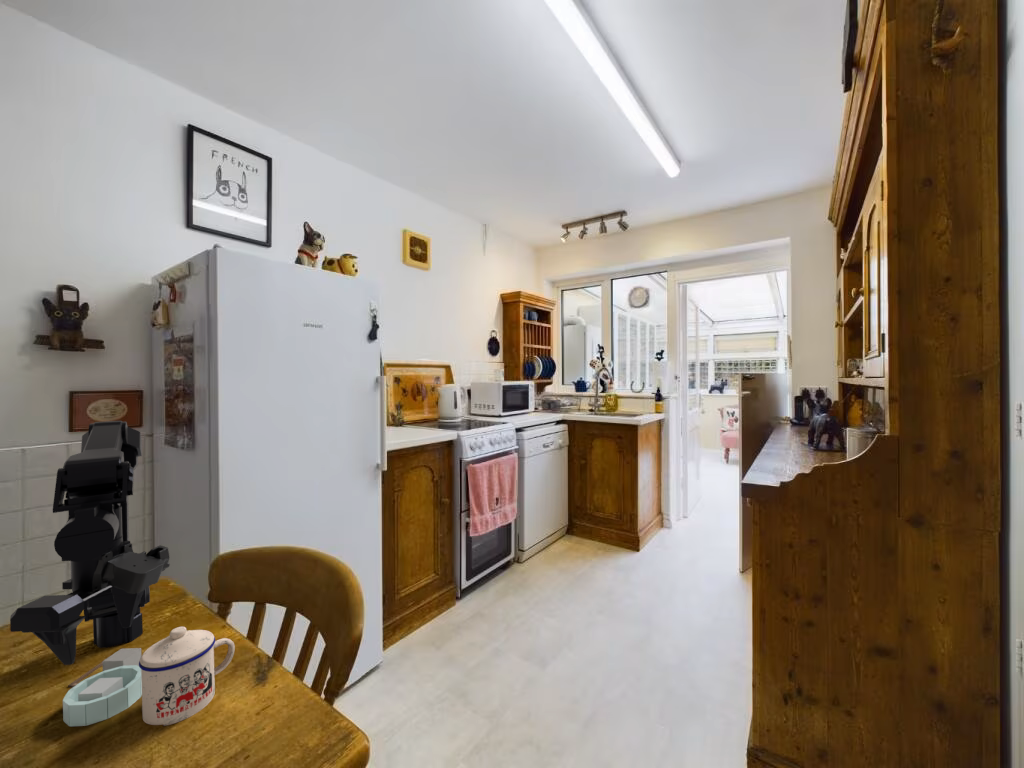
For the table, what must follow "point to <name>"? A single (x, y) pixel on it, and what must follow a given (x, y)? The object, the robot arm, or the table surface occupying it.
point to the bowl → (106, 705)
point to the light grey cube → (101, 688)
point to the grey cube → (123, 658)
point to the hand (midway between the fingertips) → (100, 644)
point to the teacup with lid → (180, 675)
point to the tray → (85, 675)
